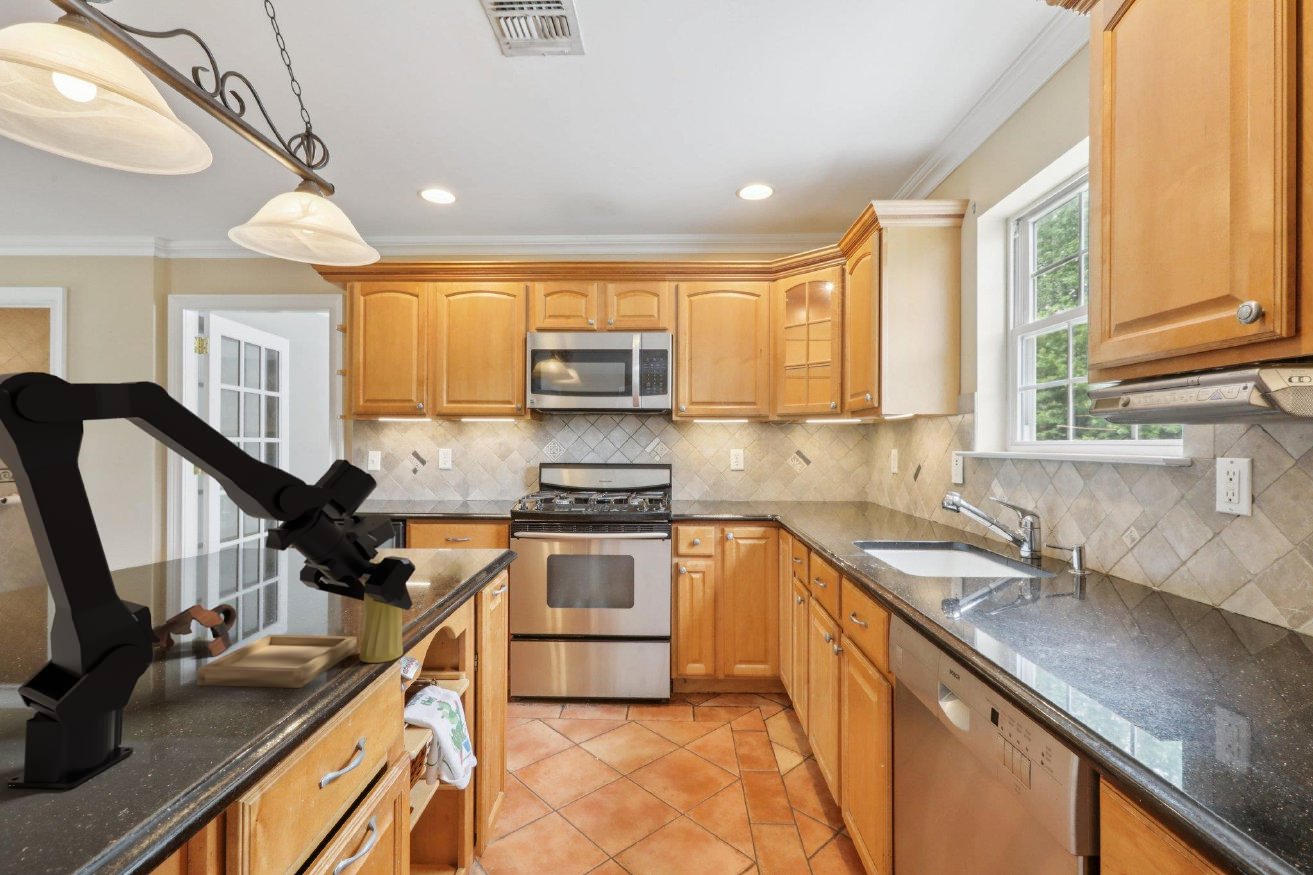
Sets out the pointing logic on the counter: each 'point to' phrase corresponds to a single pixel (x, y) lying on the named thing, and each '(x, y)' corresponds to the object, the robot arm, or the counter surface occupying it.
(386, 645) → the vase
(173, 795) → the counter surface
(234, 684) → the maple tray
